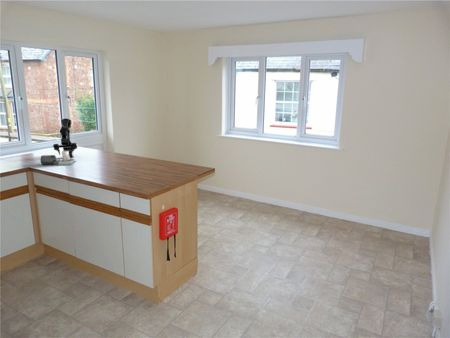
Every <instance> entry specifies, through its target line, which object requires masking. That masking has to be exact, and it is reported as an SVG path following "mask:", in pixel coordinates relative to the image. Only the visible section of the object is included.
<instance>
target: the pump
mask: <svg viewBox="0 0 450 338" xmlns="http://www.w3.org/2000/svg"><path fill="white" fill-rule="evenodd" d="M61 154H62V159H63V162H64V161H70V159H71V158H70V157H69V151H64V150H63V151H61Z"/></svg>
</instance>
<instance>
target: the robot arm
mask: <svg viewBox="0 0 450 338" xmlns="http://www.w3.org/2000/svg"><path fill="white" fill-rule="evenodd" d="M60 121H61V125H62V126H60V129H59V133H60V136H61V138H60V144H59V143H54V144H53V145H52V147H53V150H54V151H56V152H57V153H58V155H59V156H60V155H61V151H60V148H62V150H63V151H69V157H70V159H74V158H73V157H74V155H73V152H74V151H75V150H77V149H78V144H77V143H76V142H72V141H71V135H70V134H71V130H70V128H71V127H72V120H71V119H69V118H62V119H61V120H60Z"/></svg>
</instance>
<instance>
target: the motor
mask: <svg viewBox="0 0 450 338" xmlns="http://www.w3.org/2000/svg"><path fill="white" fill-rule="evenodd" d="M76 162H77V161H76V160H75V159H74V158H70V161H64V162H63V158H62V159H57V157H56V155H55V154H50V155H47V154H44V155H41V156H40V163H41V165H54V166H57V167H58V166H72V165H74V164H75V163H76Z"/></svg>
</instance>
